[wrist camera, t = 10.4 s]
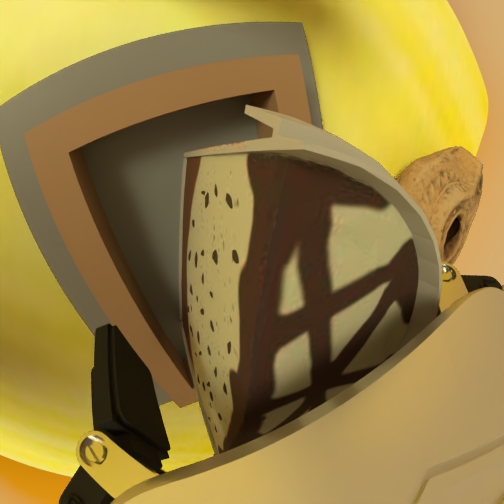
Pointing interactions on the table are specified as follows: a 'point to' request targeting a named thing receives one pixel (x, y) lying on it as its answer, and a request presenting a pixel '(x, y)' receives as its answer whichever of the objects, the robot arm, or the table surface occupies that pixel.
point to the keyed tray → (142, 166)
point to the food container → (295, 274)
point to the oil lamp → (446, 195)
